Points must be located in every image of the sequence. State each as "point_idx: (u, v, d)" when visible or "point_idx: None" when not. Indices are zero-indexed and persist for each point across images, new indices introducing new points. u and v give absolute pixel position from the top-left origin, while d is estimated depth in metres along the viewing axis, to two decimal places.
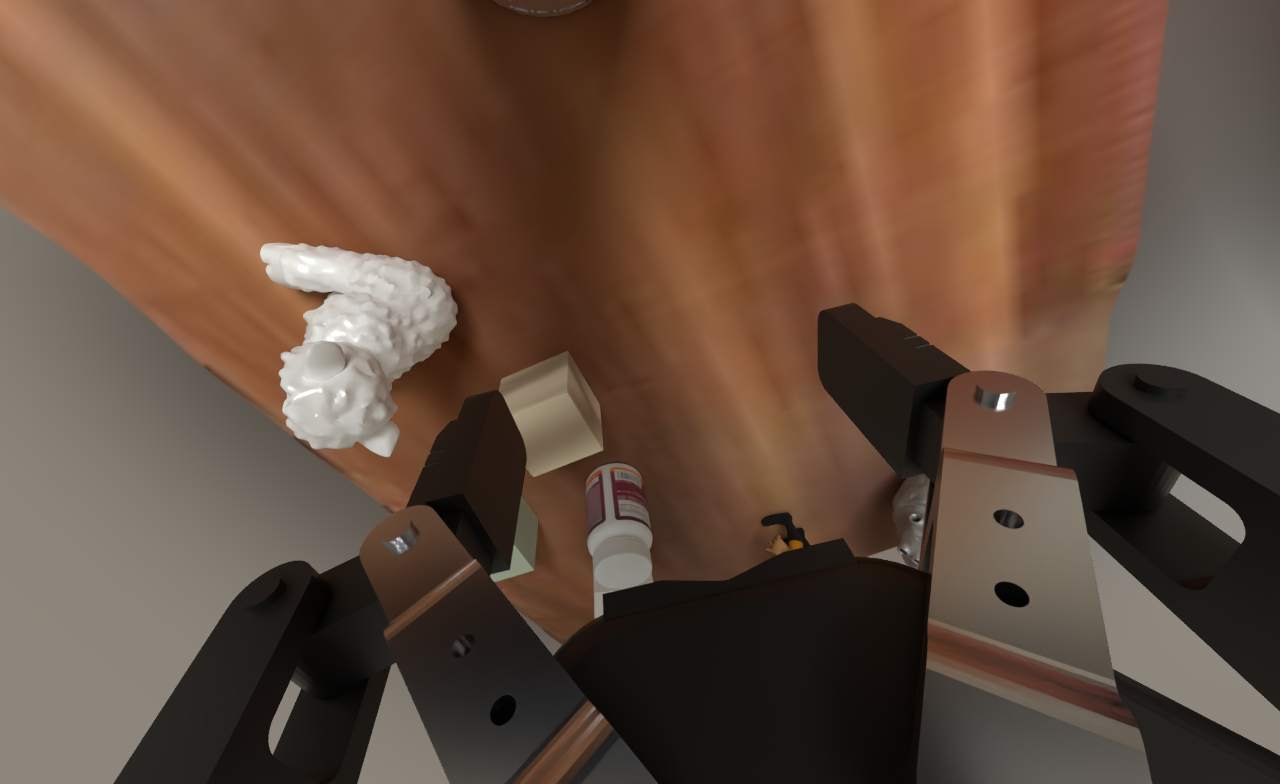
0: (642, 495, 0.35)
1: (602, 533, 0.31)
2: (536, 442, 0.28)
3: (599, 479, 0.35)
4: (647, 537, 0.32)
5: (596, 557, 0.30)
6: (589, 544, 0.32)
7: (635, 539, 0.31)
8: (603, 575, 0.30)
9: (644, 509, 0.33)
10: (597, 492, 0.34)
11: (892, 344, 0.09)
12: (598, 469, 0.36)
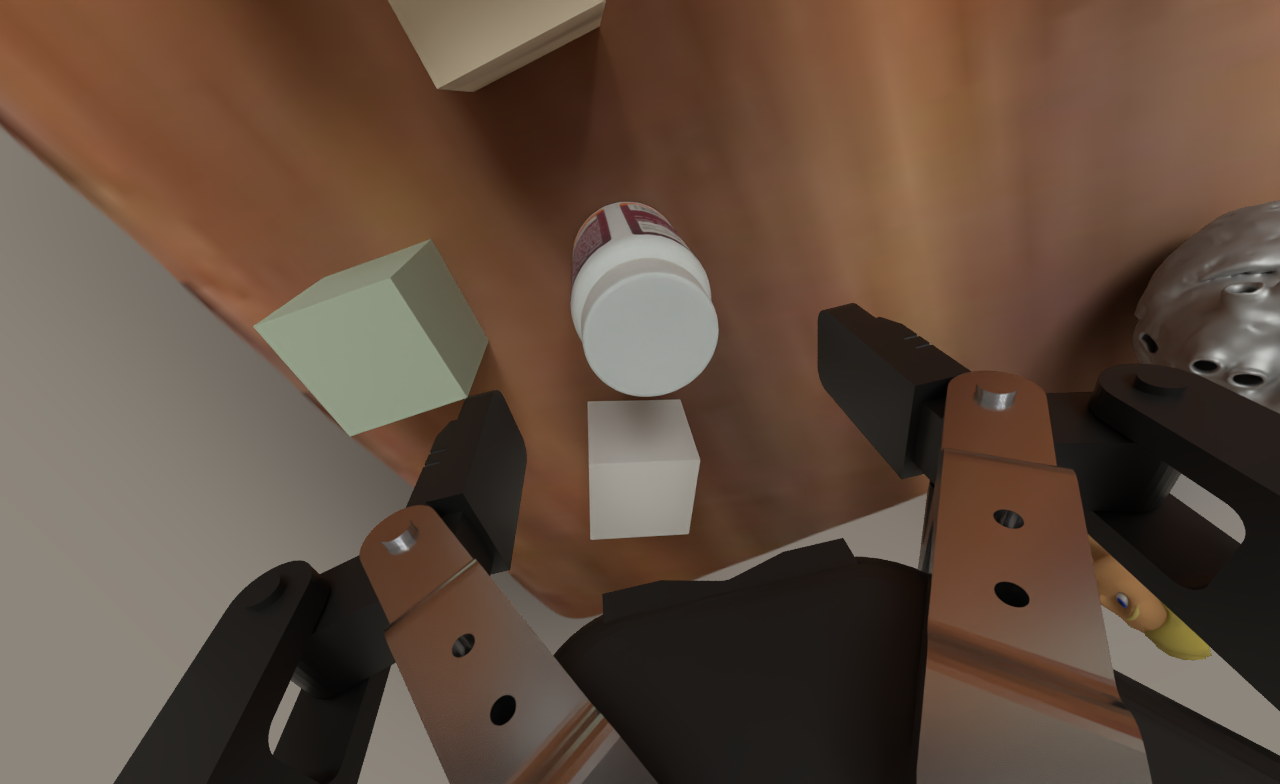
0: None
1: (603, 260, 0.14)
2: None
3: (598, 216, 0.17)
4: (703, 287, 0.14)
5: (589, 301, 0.13)
6: (574, 300, 0.14)
7: None
8: (605, 346, 0.13)
9: None
10: (594, 227, 0.17)
11: (892, 344, 0.09)
12: (596, 211, 0.18)
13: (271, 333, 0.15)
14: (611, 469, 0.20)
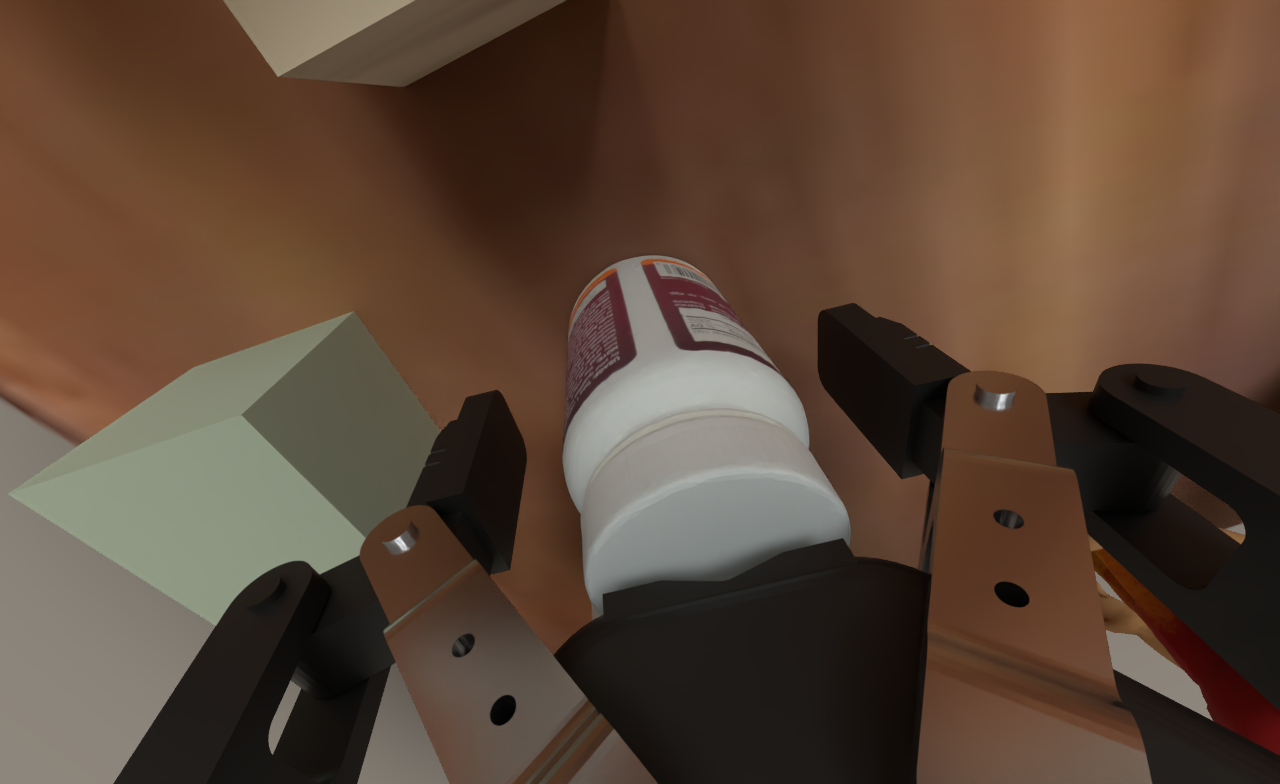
0: None
1: (624, 402, 0.07)
2: None
3: (609, 283, 0.11)
4: (802, 436, 0.08)
5: (597, 501, 0.06)
6: (569, 461, 0.08)
7: None
8: (629, 587, 0.07)
9: None
10: (602, 307, 0.10)
11: (892, 344, 0.09)
12: (605, 270, 0.12)
13: (45, 503, 0.09)
14: None
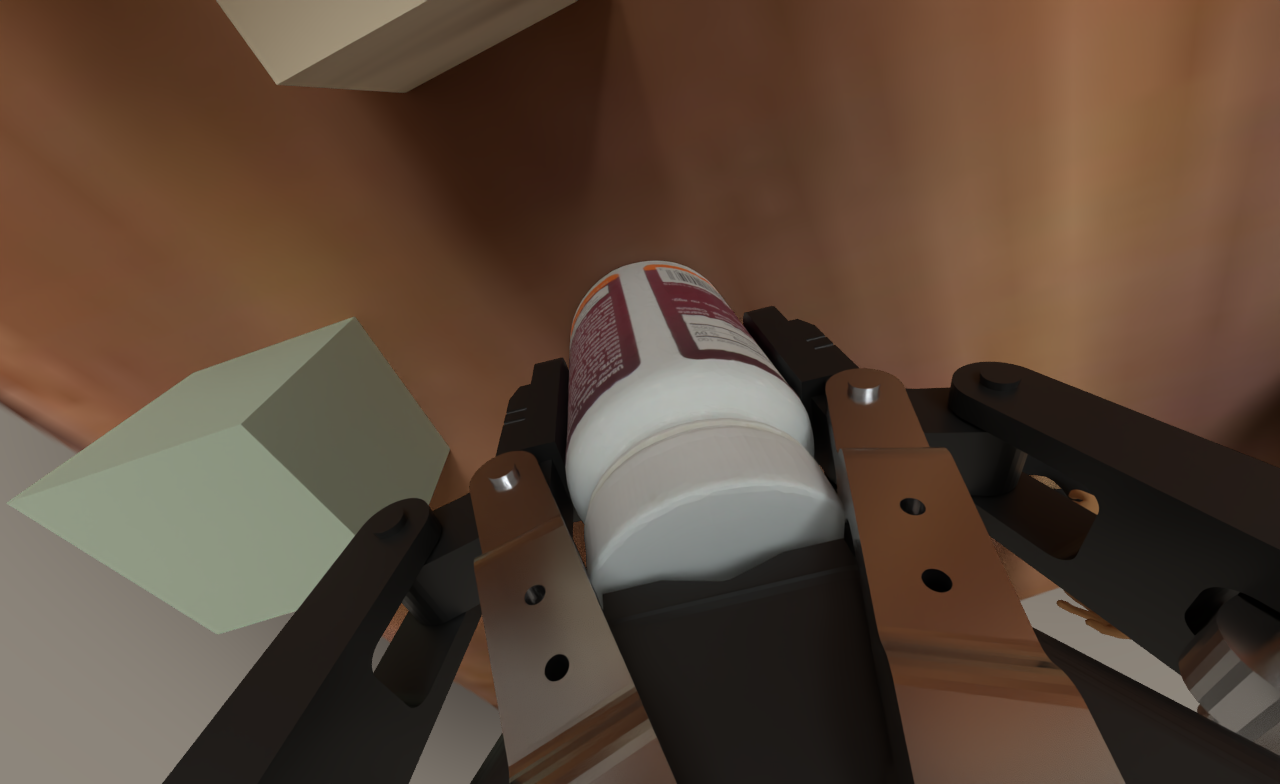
0: None
1: (628, 411, 0.07)
2: None
3: (612, 289, 0.11)
4: (807, 445, 0.08)
5: (601, 512, 0.06)
6: (573, 470, 0.08)
7: None
8: None
9: None
10: (605, 314, 0.10)
11: (793, 344, 0.09)
12: (607, 276, 0.12)
13: (43, 511, 0.09)
14: None
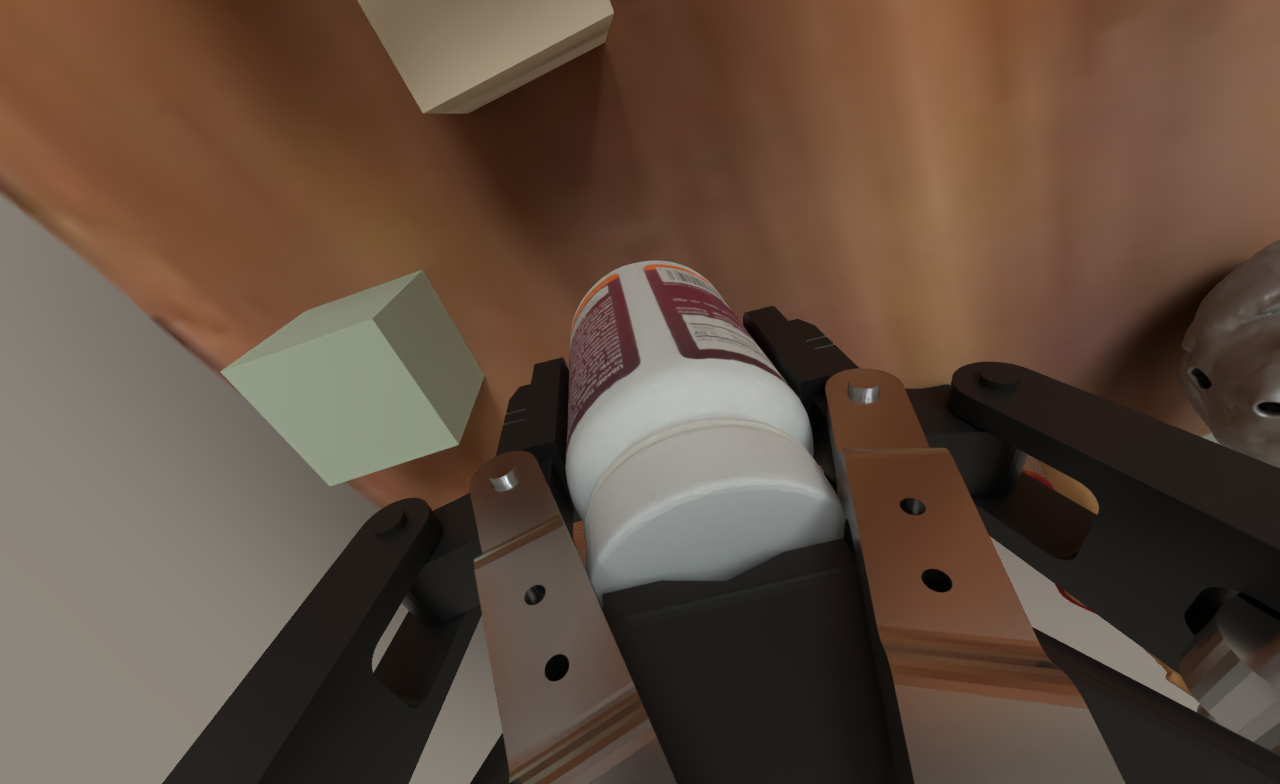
0: None
1: (627, 411, 0.07)
2: None
3: (612, 289, 0.11)
4: (806, 445, 0.08)
5: (601, 511, 0.06)
6: (573, 470, 0.08)
7: None
8: None
9: None
10: (605, 313, 0.10)
11: (794, 344, 0.09)
12: (607, 275, 0.12)
13: (241, 379, 0.14)
14: None
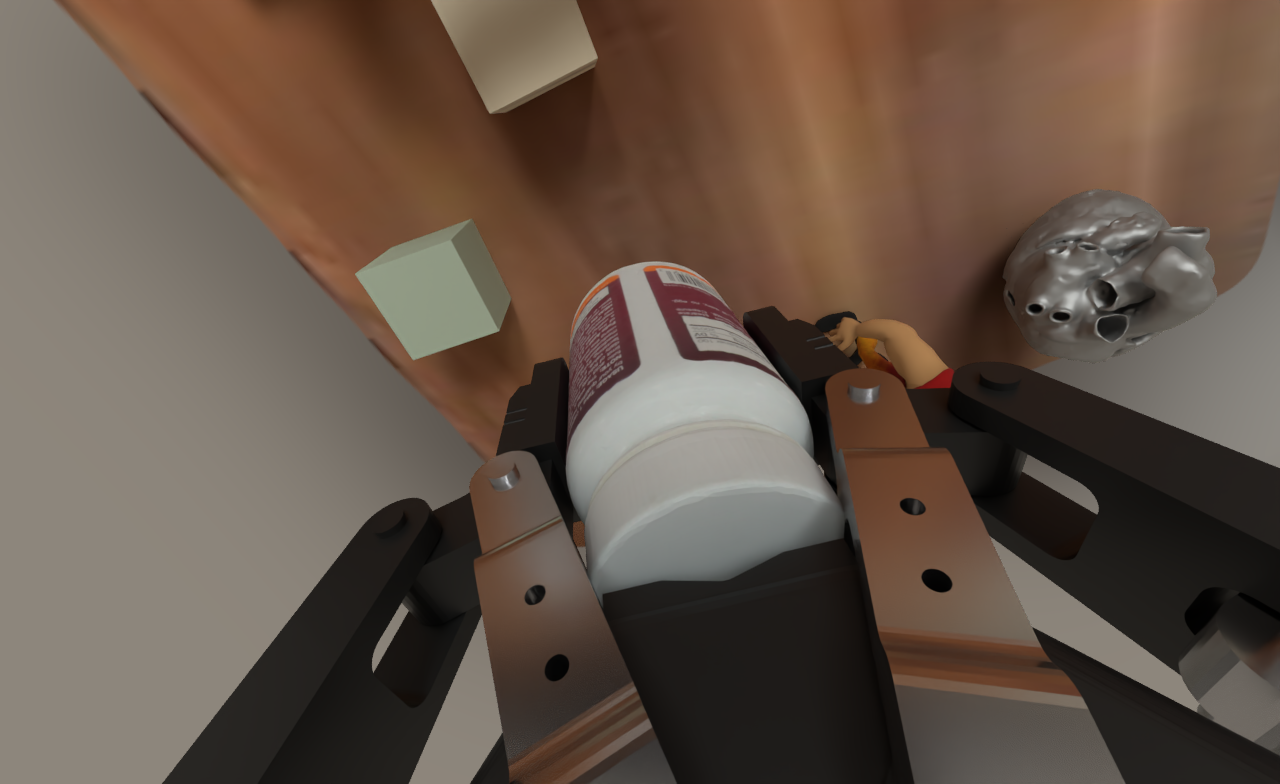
0: None
1: (628, 413, 0.07)
2: (491, 24, 0.17)
3: (612, 290, 0.11)
4: (807, 446, 0.08)
5: (601, 513, 0.06)
6: (573, 471, 0.08)
7: (776, 436, 0.07)
8: None
9: None
10: (605, 315, 0.10)
11: (794, 344, 0.09)
12: (607, 277, 0.12)
13: (366, 279, 0.22)
14: None
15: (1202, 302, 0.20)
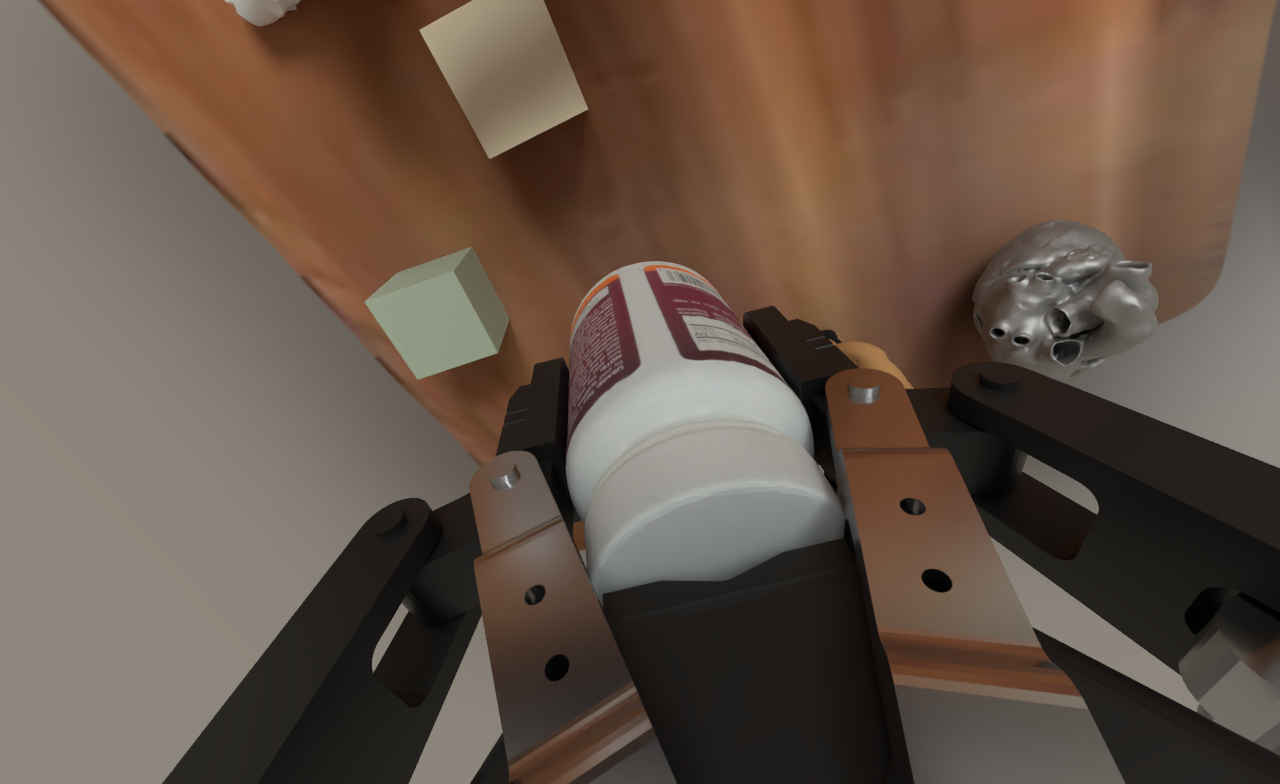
0: None
1: (628, 412, 0.07)
2: (490, 80, 0.19)
3: (612, 289, 0.11)
4: (807, 445, 0.08)
5: (601, 513, 0.06)
6: (573, 471, 0.08)
7: None
8: None
9: None
10: (605, 314, 0.10)
11: (794, 344, 0.09)
12: (607, 276, 0.12)
13: (375, 306, 0.24)
14: None
15: (1144, 332, 0.22)
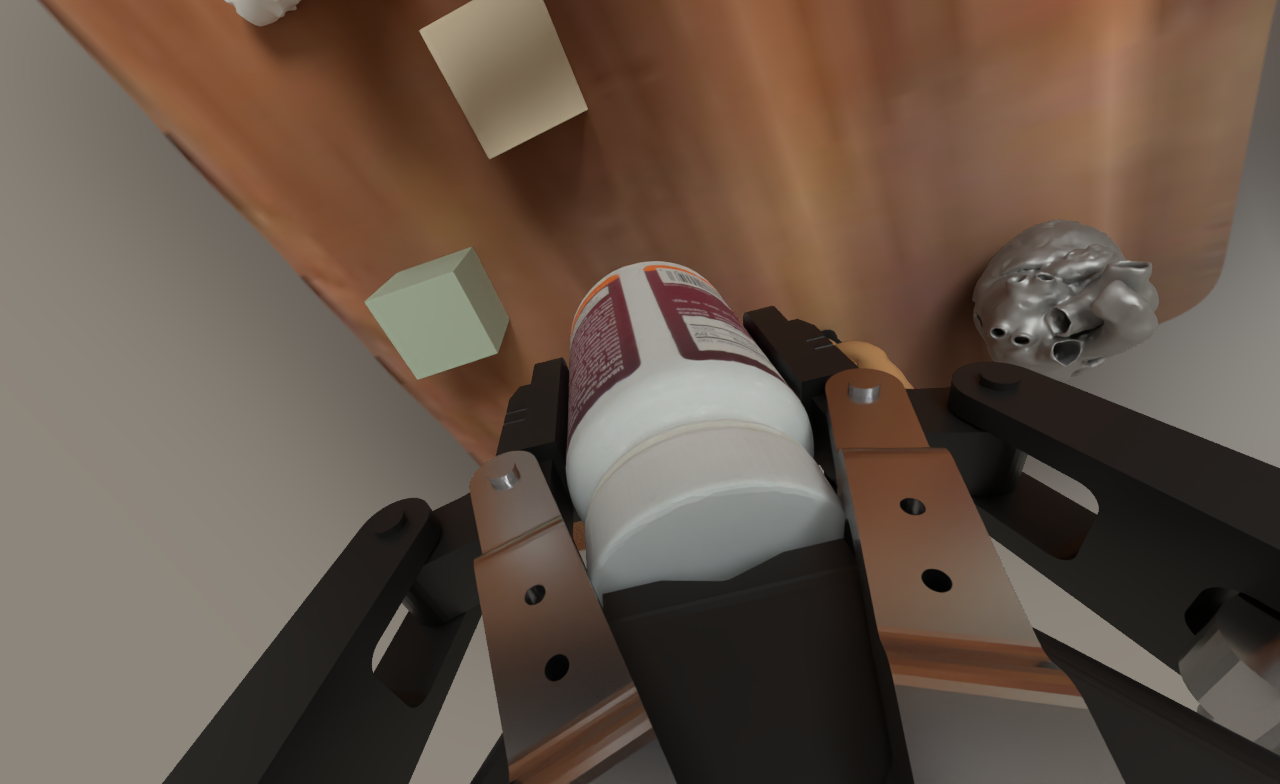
0: None
1: (628, 412, 0.07)
2: (490, 81, 0.19)
3: (612, 289, 0.11)
4: (807, 445, 0.08)
5: (601, 513, 0.06)
6: (573, 471, 0.08)
7: None
8: None
9: None
10: (605, 314, 0.10)
11: (794, 344, 0.09)
12: (607, 276, 0.12)
13: (375, 306, 0.24)
14: None
15: (1144, 332, 0.22)
